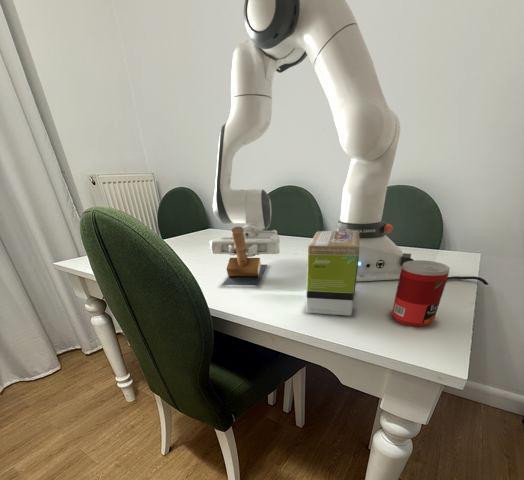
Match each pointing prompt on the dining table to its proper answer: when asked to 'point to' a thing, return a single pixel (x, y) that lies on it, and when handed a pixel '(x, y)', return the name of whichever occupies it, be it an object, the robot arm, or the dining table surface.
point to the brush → (242, 259)
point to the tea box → (332, 272)
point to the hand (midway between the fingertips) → (240, 252)
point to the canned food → (419, 292)
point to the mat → (246, 279)
